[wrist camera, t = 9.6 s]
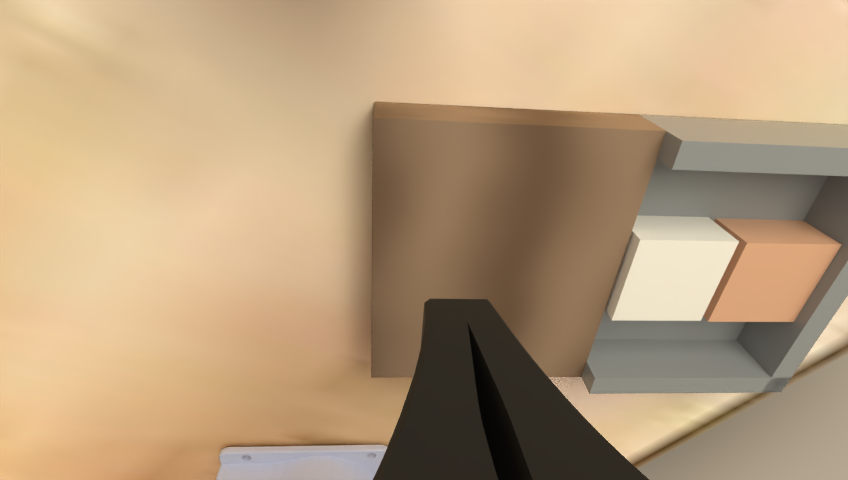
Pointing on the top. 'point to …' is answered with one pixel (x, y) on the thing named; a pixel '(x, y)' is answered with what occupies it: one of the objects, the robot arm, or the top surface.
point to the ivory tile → (670, 269)
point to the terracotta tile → (770, 270)
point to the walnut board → (502, 222)
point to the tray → (733, 199)
